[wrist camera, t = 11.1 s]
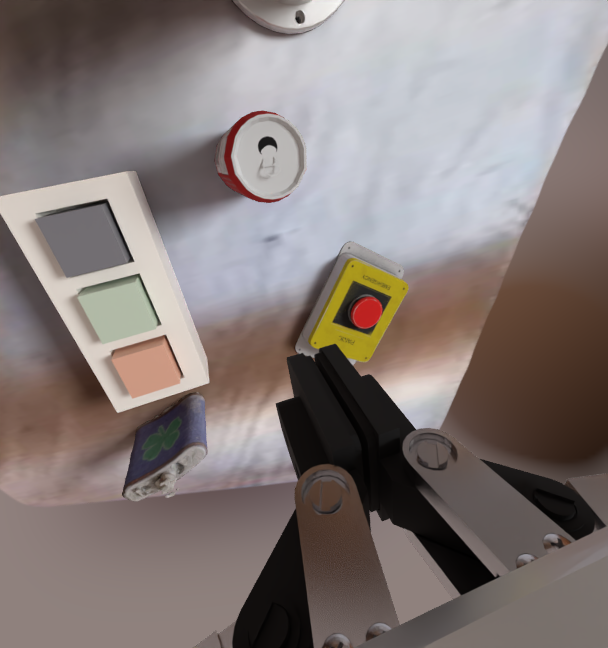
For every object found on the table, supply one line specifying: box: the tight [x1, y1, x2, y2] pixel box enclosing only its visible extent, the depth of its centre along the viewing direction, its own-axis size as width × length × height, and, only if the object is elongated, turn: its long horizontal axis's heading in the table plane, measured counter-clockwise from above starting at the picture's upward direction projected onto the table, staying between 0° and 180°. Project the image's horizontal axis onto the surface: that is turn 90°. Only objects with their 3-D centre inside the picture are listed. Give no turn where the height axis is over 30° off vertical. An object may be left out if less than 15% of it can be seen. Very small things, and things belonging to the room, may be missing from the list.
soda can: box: [214, 111, 307, 203], centre depth 26 cm, size 6×6×12 cm
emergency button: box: [295, 242, 408, 365], centre depth 40 cm, size 9×4×15 cm
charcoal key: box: [35, 201, 132, 278], centre depth 26 cm, size 4×4×4 cm
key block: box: [0, 171, 209, 413], centre depth 31 cm, size 20×9×5 cm, turn 10°
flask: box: [122, 392, 207, 501], centre depth 35 cm, size 9×3×11 cm, turn 119°
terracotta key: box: [111, 335, 181, 399], centre depth 32 cm, size 4×4×4 cm
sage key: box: [77, 273, 159, 344], centre depth 29 cm, size 4×4×4 cm
